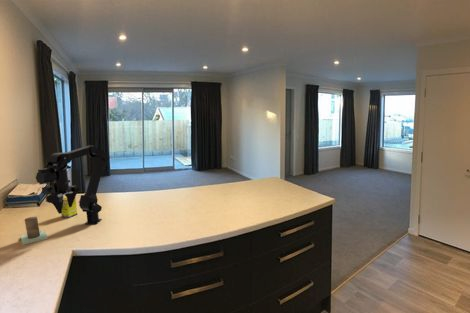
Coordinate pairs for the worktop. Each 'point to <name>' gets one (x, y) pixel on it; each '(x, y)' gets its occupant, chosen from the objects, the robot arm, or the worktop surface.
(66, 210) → the supplement box
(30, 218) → the walnut canister
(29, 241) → the sage green board
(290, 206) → the worktop surface
